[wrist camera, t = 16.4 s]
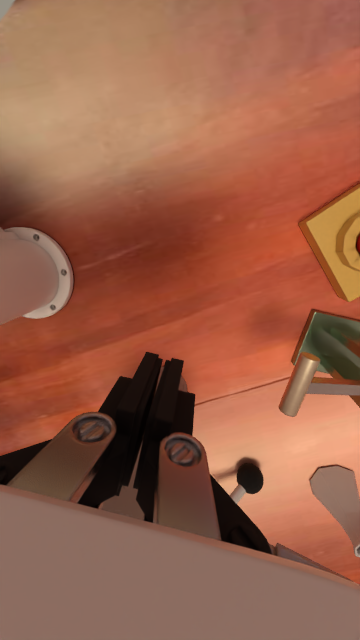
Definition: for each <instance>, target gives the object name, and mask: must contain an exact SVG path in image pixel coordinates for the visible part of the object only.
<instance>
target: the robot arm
mask: <svg viewBox="0 0 360 640" xmlns="http://www.w3.org/2000/svg"><path fill="white" fill-rule="evenodd" d="M66 271H67V273H66ZM73 283H74V280H73V271H72V267H71V264H70V262H69V259H68V257H67V255H66V254H65V252H64V251H63V249H62V248H61V247H60V246H59V245H58V243H57V242H56V241H55V240H53V239H52V238H51V237H50V236H48V235H46V234H45V233H43V232H41V231H39V230H35V229H32V228H25V227H13V228H9V229H5V230H3V229H2V228H1V227H0V325H1V324H4V323H6V322H9V321H11V320H13V319H16V318H18V317H20V316H23V317H26V318H34V319H36V318H45V317H48V316H51V315H53V314H55V313H57V312H58V311H60V310H61V309H62V308H63V307H64V306H65V305H66V304H67V302H68V300H69V299H70V297H71V294H72V291H73ZM55 306H56V307H55ZM158 357H159V355H158V354H153V353H149V352H146V354H145V356H144V357H143V359H142V361H141V363H140V365H139V367H138V369H137V371H136V373H135V375H134V377H133V379H131V378H127V377H122V376H120V377H119V379H118V380H117V382H116V383H115V385H114V387H113V388H112V390H111V392H110V393H109V395H108V396H107V398H106V400H105V401H104V403H103V404H102V406H101V408H100V409H99V411H98V412H88V413H83V414H81V415H78V416H76V417H75V418H74V419H72V420H71V421H70V422H69V423H68V424H67V425H66V426H65V427H64V428H63V429H62V430H61V431H60V432H59V433H58V434H57V435H56V436H55V437H54V438H53V439H51V440H48V441H45V442H42V443H39V444H36V445H33V446H30V447H27V448H24V449H20V450H17V451H14V452H11V453H8V454H5V455H2V456H0V640H360V585H359V584H357V583H354V582H353V581H351V580H350V579H348V578H346V577H344V576H342V575H340V574H338V573H336V572H334V571H332V570H330V569H328V568H326V567H324V566H322V565H320V564H318V563H316V562H314V561H312V560H310V559H308V558H307V557H305V556H303V555H301V554H299V553H297V552H295V551H293V550H291V549H289V548H287V547H285V546H283V545H281V544H279V543H277V544H276V546H275V547H274V546H273V545H271V544H269V543H268V542H267V539H266V538H265V537H264V535H263V534H262V532H261V531H260V530H259V529H258V527H257V526H256V525H255V524H254V523H253V522H252V521H251V520H250V518H249V517H248V516H247V515H246V514H245V513H244V512H243V511H242V509H241V508H240V507H239V506H238V505H237V504H236V503H235V502H234V500H233V499H232V498H231V497H230V496H229V495H228V494H227V493H226V491H225V490H224V489H223V488H222V487H221V486H220V485H219V484H218V482H217V481H216V480H215V479H214V478H213V477H212V476H211V475H210V473H209V467H208V462H207V456H206V452H205V449H204V447H203V445H202V444H201V443H200V441H198V440H197V439H196V438H195V437H193V436H192V432H193V418H194V404H195V394H193V393H189V392H185V391H180V390H179V384H180V379H181V373H182V368H183V362H184V361H183V360H179V359H174V358H172V359H171V361H169V360H166V362H165V365H164V368H163V372H162V375H161V378H160V381H159V384H158V379H159V374H160V369H161V365H162V360H163V359H160V358H158ZM157 384H158V387H157ZM156 388H157V390H156ZM142 441H143V442H142ZM141 444H142V446H141ZM140 448H141V451H140ZM139 451H140V456H139V461H138V466H137V470H136V475H135V480H134V485H133V488H135V489H138V492H137V496H136V501H137V503H138V504H139V506H140V508H141V510H142V511H143V513H144V515H143V519H142V520H139V519H135V518H131V517H127V516H123V515H120V514H116V513H112V512H108V511H104V510H102V509H103V506H104V502H105V501H106V500H108V499H109V498H111V497H113V496H119V494H120V491H121V488H122V486H127V487H128V486H129V483H130V480H131V476H132V473H133V470H134V467H135V464H136V460H137V457H138V454H139Z"/></svg>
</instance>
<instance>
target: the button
mask: <svg viewBox="0 0 360 640" xmlns="http://www.w3.org/2000/svg"><path fill="white" fill-rule="evenodd" d="M357 249H358V251H359V253H360V235H359V237H358V239H357Z"/></svg>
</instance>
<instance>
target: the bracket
mask: <svg viewBox="0 0 360 640" xmlns="http://www.w3.org/2000/svg"><path fill="white" fill-rule="evenodd" d="M301 352H307V353H310V354H313V355H315V356H317V357H318V358H319V359H320V363H319V365H318V367H317V370H316V371H320V372H324V373H328V374H330V375H331V376H332V377H333V378H335V379H352V380H360V320H356V319H351V318H347V317H343V316H338V315H334V314H330V313H325V312H321V311H317V310H311V313H310V315H309V318H308V320H307V323H306V326H305V328H304V331H303V333H302V336H301V338H300V341H299V343H298V346H297V348H296V351H295V353H294V356H293V358H292V361H291V362H292V363H293V365H296V362H297V360H298V357H299V355H300V353H301ZM349 396H350V397H351V398H352V399H353V400H354V402H355V403H356V404H357V405H358V406H359V407H360V396H356V395H349Z"/></svg>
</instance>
